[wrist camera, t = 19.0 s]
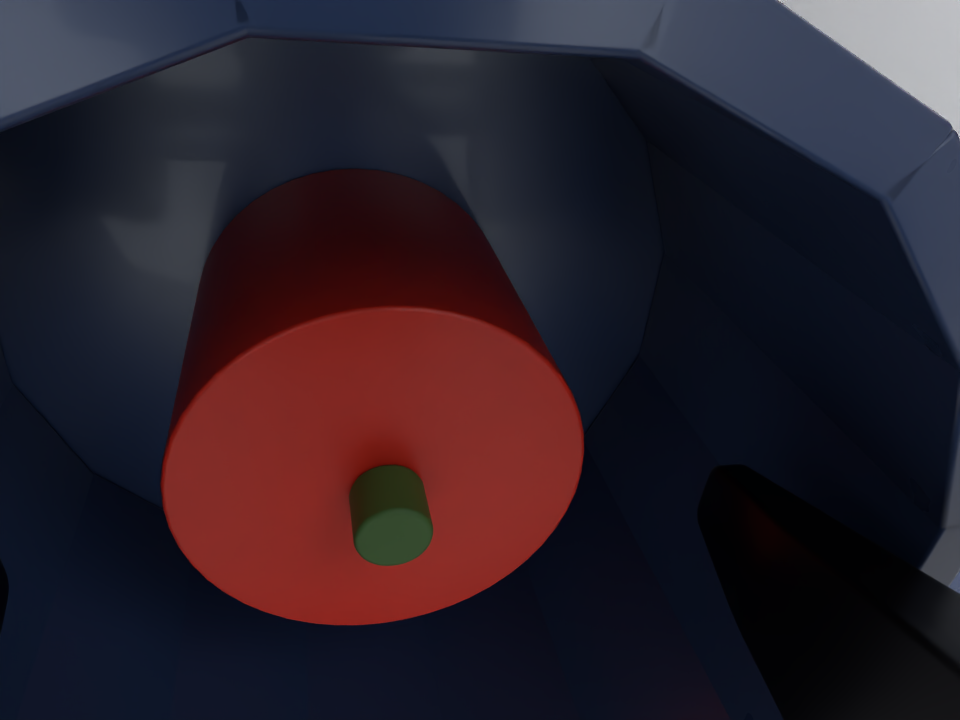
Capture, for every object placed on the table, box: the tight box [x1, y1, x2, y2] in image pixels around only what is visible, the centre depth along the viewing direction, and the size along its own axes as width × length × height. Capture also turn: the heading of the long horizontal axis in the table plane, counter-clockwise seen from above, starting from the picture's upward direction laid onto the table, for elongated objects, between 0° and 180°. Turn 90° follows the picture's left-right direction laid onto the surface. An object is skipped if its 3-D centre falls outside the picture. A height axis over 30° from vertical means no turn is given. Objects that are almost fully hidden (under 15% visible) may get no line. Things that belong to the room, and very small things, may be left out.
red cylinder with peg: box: [160, 169, 584, 625], centre depth 11 cm, size 6×6×6 cm
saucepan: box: [0, 0, 960, 720], centre depth 11 cm, size 13×13×8 cm
